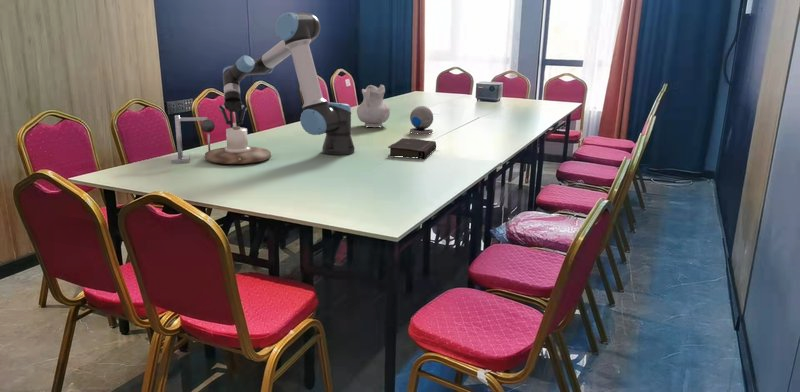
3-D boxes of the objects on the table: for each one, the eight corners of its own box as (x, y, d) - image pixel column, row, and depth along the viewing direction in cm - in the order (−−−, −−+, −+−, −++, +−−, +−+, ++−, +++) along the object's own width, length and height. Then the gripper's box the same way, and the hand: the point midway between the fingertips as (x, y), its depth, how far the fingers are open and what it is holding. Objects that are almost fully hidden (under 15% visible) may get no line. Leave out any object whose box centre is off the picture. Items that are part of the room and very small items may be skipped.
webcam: (436, 132, 339) (437, 106, 334) (425, 135, 328) (426, 108, 324) (417, 129, 345) (417, 103, 341) (405, 132, 335) (406, 106, 331)
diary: (436, 150, 294) (436, 140, 293) (425, 161, 271) (425, 150, 269) (399, 147, 299) (400, 137, 297) (385, 157, 275) (386, 146, 274)
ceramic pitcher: (387, 132, 341) (391, 88, 334) (353, 128, 341) (357, 84, 334) (388, 126, 362) (392, 84, 355) (356, 122, 362) (360, 81, 355)
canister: (249, 147, 273) (248, 124, 270) (251, 152, 263) (250, 128, 260) (224, 148, 270) (223, 125, 267) (225, 153, 260) (223, 129, 257)
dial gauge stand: (216, 157, 264) (213, 113, 258) (216, 161, 257) (214, 116, 252) (172, 159, 258) (168, 114, 253) (171, 163, 252) (167, 117, 246)
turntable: (267, 148, 280) (267, 145, 279) (274, 162, 254) (273, 158, 254) (205, 151, 271) (204, 147, 271) (205, 165, 246) (204, 161, 245)
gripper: (246, 99, 291) (249, 140, 281) (218, 100, 287) (220, 140, 277) (246, 90, 285) (250, 130, 274) (217, 90, 281) (220, 131, 270)
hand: (235, 135), depth 275 cm, fingers closed
